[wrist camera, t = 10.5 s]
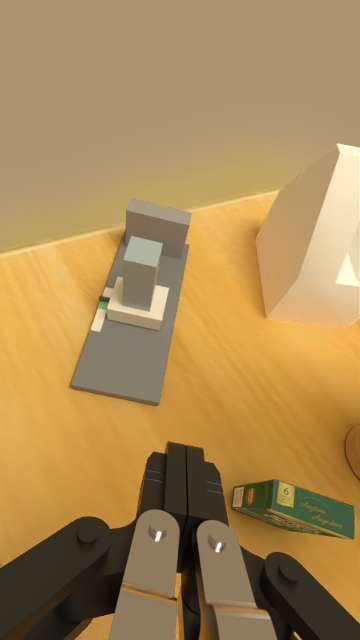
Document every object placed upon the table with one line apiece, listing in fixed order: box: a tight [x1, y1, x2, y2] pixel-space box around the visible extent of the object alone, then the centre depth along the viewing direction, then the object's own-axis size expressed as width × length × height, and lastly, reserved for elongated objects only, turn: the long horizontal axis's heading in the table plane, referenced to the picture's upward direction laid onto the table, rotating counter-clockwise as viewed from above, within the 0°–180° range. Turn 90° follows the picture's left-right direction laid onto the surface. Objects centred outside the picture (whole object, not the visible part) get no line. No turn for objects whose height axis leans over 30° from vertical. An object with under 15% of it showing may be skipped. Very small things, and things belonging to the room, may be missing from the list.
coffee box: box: [232, 479, 354, 540], centre depth 34 cm, size 8×3×13 cm, turn 72°
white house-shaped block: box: [255, 144, 360, 328], centre depth 50 cm, size 19×15×25 cm
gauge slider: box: [99, 236, 169, 331], centre depth 45 cm, size 10×14×13 cm
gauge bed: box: [71, 198, 192, 406], centre depth 47 cm, size 12×30×10 cm, turn 171°
